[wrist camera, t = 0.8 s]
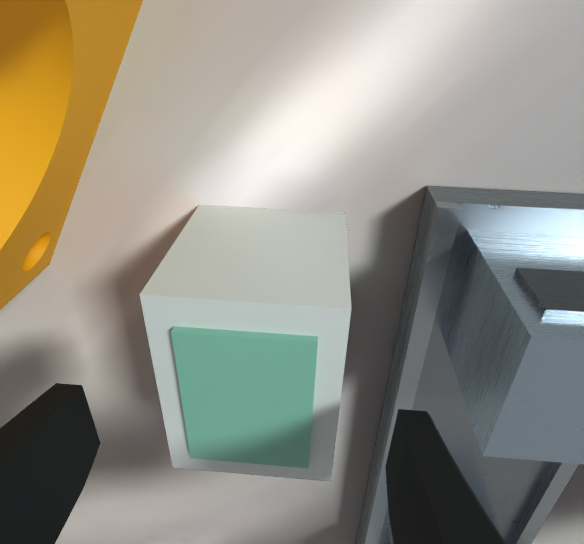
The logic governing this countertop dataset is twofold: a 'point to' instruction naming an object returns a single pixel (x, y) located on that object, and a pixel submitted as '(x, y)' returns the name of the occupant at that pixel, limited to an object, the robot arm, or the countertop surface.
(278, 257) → the block
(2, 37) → the yellow stepped block
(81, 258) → the countertop surface
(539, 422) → the rail
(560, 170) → the countertop surface
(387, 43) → the countertop surface
